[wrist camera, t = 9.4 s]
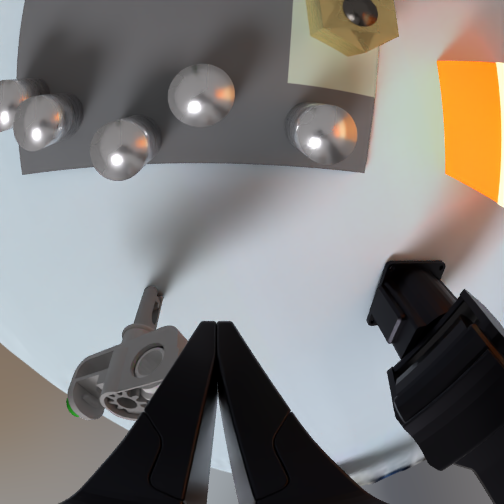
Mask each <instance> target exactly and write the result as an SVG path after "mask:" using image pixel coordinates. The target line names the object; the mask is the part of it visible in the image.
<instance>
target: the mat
mask: <svg viewBox="0 0 504 504" xmlns="http://www.w3.org/2000/svg"><path fill="white" fill-rule="evenodd" d="M378 52H379V46H378V47H376V48H374V49H372V50H370V51H368V52H366V53H362V54H358V55H353V56H349V57H347V56H346V55H344V54H342V53H341V52H339V51H337V50H335V49H334V48H332V47H330V46H328V45H326V44H325V43H323V42H321V41H319V40H317V39H315V38H313V37H311V36H310V31H309V23H308V15H307V8H306V1H305V0H25V3H24V9H23V15H22V21H21V28H20V37H19V46H18V59H17V79H29V78H39V79H42V80H43V81H45V82H46V84H47V85H48V87H49V91H50V94H58V93H70V94H73V95H75V96H76V97H77V98H78V99H79V100H80V102H81V104H82V108H83V120H82V123H81V126H80V128H79V129H78V131H77V132H76V133H75V134H74V135H73V136H71V137H69V138H67V139H64V140H62V141H59V142H57V143H54V144H52V145H49V146H47V147H45V148H42V149H40V150H37V151H27V150H25V149H23V148H22V147H21V146H20V145H19V152H20V161H21V169H22V175H25V174H32V173H40V172H48V171H57V170H66V169H76V168H87V167H94V166H93V164H92V161H91V157H90V145H91V141H92V138H93V136H94V135H95V133H96V132H97V131H98V129H99V128H101V127H102V126H103V125H105V124H106V123H109V122H112V121H115V120H118V119H122V118H126V117H129V116H133V115H143V116H146V117H149V118H150V119H152V120H153V121H154V122H155V123H156V124H157V126H158V127H159V129H160V132H161V145H160V148H159V151H158V152H157V154H156V155H155V156H154V157H153V158H152V159H151V160H150V161H149V162H148V163H147V164H161V163H233V164H262V165H281V166H296V167H310V168H322V169H332V170H342V171H352V172H361V173H364V172H365V166H366V160H367V154H368V147H369V140H370V133H371V125H372V117H373V109H374V100H375V90H376V79H377V67H378ZM196 64H210V65H214V66H216V67H218V68H220V69H222V70H223V71H224V72H225V73H227V75H228V76H229V77H230V79H231V80H232V82H233V85H234V90H235V99H234V103H233V106H232V108H231V110H230V111H229V113H228V114H227V115H226V116H225V117H224V118H223V119H222V120H221V121H219V122H217V123H215V124H213V125H210V126H206V127H194V126H190V125H187V124H185V123H183V122H181V121H180V120H178V119H177V118H176V117H175V116H174V114H173V113H172V111H171V109H170V107H169V103H168V90H169V87H170V84H171V82H172V80H173V79H174V78H175V76H176V75H177V74H178V73H179V72H181V71H182V70H183V69H185V68H187V67H189V66H192V65H196ZM305 102H313V103H322V104H329V105H335V106H338V107H340V108H342V109H344V110H345V111H346V112H348V113H349V114H350V116H351V117H352V119H353V120H354V122H355V125H356V128H357V141H356V145H355V147H354V149H353V151H352V153H351V154H350V155H349V156H348V157H347V158H346V159H344V160H343V161H341V162H339V163H336V164H332V165H324V164H319V163H317V162H314V161H313V160H311V159H310V158H309V157H307V156H306V155H305V154H304V153H302V152H301V151H300V150H298V149H297V148H296V147H295V146H293V145H292V144H291V143H290V142H289V140H288V139H287V137H286V134H285V129H284V123H285V119H286V116H287V114H288V113H289V111H290V110H291V109H292V108H293V107H295V106H296V105H298V104H301V103H305Z"/></svg>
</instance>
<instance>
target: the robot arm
mask: <svg viewBox="0 0 504 504" xmlns="http://www.w3.org/2000/svg"><path fill="white" fill-rule="evenodd" d="M391 266H392V268H390V267H391ZM444 269H445V263H444V262H443V261H389V262H387V263H386V265H385V267H384V270H383V273H382V277H381V280H380V283H379V286H378V288H377V290H376V293H375V296H374V299H373V302H372V305H371V308H370V312H369V314H368V317H367V323H368V325H370V326H375V325H378V326H379V328H380V330H381V331H382V333H383V335H384V337H385V339H386V341H387V342H388V343H389V344H391V343H392V344H393V346H394V348H395V350H396V351H397V353H398V355H399V357H400V359H401V360H400V361H399V362H398V363H397V364H396V365H395V366H394V367H391V368H390V369H389V370H388V371H387V375H388V380H389V385H390V390H391V396H392V402H393V408H394V412H395V417H396V419H397V420H398V421H399V423H400V424H401V425H402V427H403V428H404V429H405V430H406V431H407V432H408V433H409V434H410V435H411V436H412V437H413V439H414V440H415V441H416V443H417V444H418V445H419V447H420V449H421V450H422V452H423V454H424V456H425V458H426V460H427V462H428V463H429V464H430V465H431V466H432V467H434V468H436V469H437V470H440V471H442V470H444V469H446V468H447V467H449V466H450V465H452V464H454V465H457V466H460V467H464V468H467V469H471V470H472V471H473V472H474V473H475V475H476V476H477V478H478V479H479V481H480V483H481V484H482V486H483V487H484V489H485V491H486V492H487V494H488V496H489V497H490V499H491V500H492V502H493V504H504V328H503V327H502V325H501V324H500V323H499V322H498V320H497V319H496V318H495V317H494V316H493V315H492V314H491V313H490V311H489V310H488V309H487V308H486V307H485V306H484V305H483V304H482V303H481V302H479V301H478V300H477V299H476V298H475V297H474V296H472V295H471V294H470V293H469V292H468V291H467V290H465V289H464V290H463V291H462V292H461V293H460V296H459V298H458V299H457V298H456V297H455V296H454V295H453V294H452V292H451V291H450V290H449V289H448V288H447V287H446V286H445V285H444V283H443V282H442V281H441V280H440V279H441V277H442V274H443V272H444ZM218 397H219V405H220V411H221V416H222V422H223V428H224V433H225V439H226V444H227V449H228V454H229V459H230V464H231V469H232V474H233V479H234V483H235V488H236V493H237V497H238V502H239V504H388V503H386V502H383V501H381V500H379V499H377V498H375V497H373V496H372V495H370V494H369V493H367V492H366V491H365V490H364V489H362V488H361V487H360V486H359V485H358V484H357V483H356V482H355V481H354V480H353V479H351V478H350V477H349V476H348V475H347V474H346V473H345V472H344V471H343V470H342V469H341V468H340V467H339V466H338V465H337V464H336V463H335V462H334V461H333V460H332V459H331V458H330V457H329V456H328V455H327V454H326V453H325V452H324V451H323V450H322V449H321V448H320V446H319V445H318V444H317V443H316V442H315V441H314V440H313V439H312V438H311V436H310V435H309V434H308V432H307V431H306V430H305V429H304V427H303V426H302V425H301V423H300V422H299V421H298V419H297V418H296V416H295V415H294V414H293V412H290V411H291V410H290V408H289V407H288V405H287V404H286V402H285V401H284V399H283V398H282V397H281V395H280V394H279V392H278V391H277V389H276V388H275V386H274V385H273V383H272V382H271V380H270V379H269V377H268V376H267V374H266V373H265V371H264V370H263V368H262V367H261V365H260V364H259V362H258V361H257V359H256V358H255V356H254V355H253V353H252V352H251V350H250V349H249V347H248V346H247V344H246V342H245V341H244V339H243V338H242V336H241V335H240V333H239V332H238V330H237V328H236V327H235V325H234V324H233V322H231V321H218V322H217V324H216V322H215V321H202V322H201V323H200V324H199V325H198V327H197V328H196V330H195V331H194V333H193V335H192V336H191V338H190V339H189V341H188V342H187V344H186V345H185V347H184V348H183V350H182V351H181V353H180V354H179V356H178V358H177V359H176V361H175V362H174V364H173V365H172V367H171V368H170V370H169V371H168V373H167V374H166V376H165V377H164V379H163V381H162V382H161V384H160V385H159V387H158V388H157V390H156V391H155V393H154V394H153V396H152V397H151V399H150V401H149V402H148V404H147V405H146V407H145V408H144V412H142V413H141V414H140V416H139V417H138V419H137V420H136V422H135V423H134V425H133V426H132V428H131V429H130V431H129V432H128V433H127V435H126V436H125V438H124V439H123V440H122V441H121V443H120V444H119V445H118V446H117V448H116V449H115V450H114V451H113V452H112V454H111V455H110V456H109V457H108V458H107V459H106V461H105V462H104V463H103V464H102V465H101V466H100V467H99V468H98V470H97V471H96V472H95V473H94V474H93V475H92V476H91V477H90V479H89V480H88V481H87V482H86V483H85V484H84V485H83V486H82V488H80V489H79V490H78V491H77V492H76V493H75V494H74V495H72V496H71V497H70V498H68V499H66V500H65V501H63V502H61V503H59V504H207V493H208V484H209V474H210V464H211V455H212V445H213V436H214V427H215V418H216V409H217V399H218Z"/></svg>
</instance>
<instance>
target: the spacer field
mask: <svg viewBox="0 0 504 504" xmlns="http://www.w3.org/2000/svg"><path fill="white" fill-rule="evenodd" d="M234 99H235V90H234V85H233V82H232V80H231V79H230V77H229V76H228V75H227V73H225V72H224V71H223V70H222V69H220V68H218V67H216V66H214V65H210V64H196V65H192V66H189V67H187V68H185V69H183V70H182V71H181V72H179V73H178V74H177V75H176V76H175V78H174V79H173V80H172V82H171V84H170V87H169V90H168V103H169V107H170V109H171V111H172V113H173V114H174V116H175V117H176V118H177V119H178V120H180V121H181V122H183V123H185V124H187V125H190V126H194V127H206V126H210V125H213V124H215V123H217V122H219V121H221V120H222V119H223V118H224V117H225V116H226V115H227V114H228V113H229V111H230V110H231V108H232V106H233V103H234ZM82 120H83V108H82V104H81V102H80V100H79V99H78V98H77V97H76V96H75V95H73V94H70V93H58V94H50V91H49V87H48V85H47V84H46V82H45V81H43V80H42V79H39V78H29V79H12V80H2V81H0V132H2V131H5V130H8V129H11V128H13V130H14V135H15V138H16V140H17V142H18V144H19V145H20V146H21V147H22V148H23V149H25V150H27V151H37V150H40V149H42V148H45V147H47V146H49V145H52V144H54V143H57V142H59V141H62V140H64V139H67V138H69V137H71V136H73V135H74V134H75V133H76V132H77V131H78V129H79V128H80V126H81V123H82ZM284 129H285V134H286V137H287V139H288V140H289V142H290V143H291V144H292V145H293V146H295V147H296V148H297V149H298V150H300V151H301V152H302V153H304V154H305V155H306V156H307V157H309V158H310V159H311V160H313V161H314V162H317V163H319V164H324V165H332V164H336V163H339V162H341V161H343V160H344V159H346V158H347V157H348V156H349V155H350V154H351V153H352V151H353V149H354V147H355V145H356V141H357V128H356V125H355V122H354V120H353V119H352V117H351V116H350V114H349V113H348V112H346V111H345V110H344V109H342V108H340V107H338V106H335V105H329V104H322V103H313V102H305V103H301V104H298V105H296V106H295V107H293V108H292V109H291V110H290V111H289V113H288V114H287V116H286V119H285V123H284ZM160 145H161V132H160V129H159V127H158V126H157V124H156V123H155V122H154V121H153V120H152V119H150V118H149V117H146V116H143V115H133V116H129V117H126V118H122V119H118V120H115V121H112V122H109V123H106V124H105V125H103V126H102V127H101V128H99V129H98V131H97V132H96V133H95V135H94V136H93V138H92V141H91V145H90V157H91V161H92V164H93V166H94V167H95V169H96V170H97V171H98V172H99V174H101V175H102V176H103V177H105V178H107V179H110V180H114V181H122V180H126V179H129V178H131V177H133V176H134V175H135V174H137V173H138V172H139V171H140V170H141V169H142V168H143V167H144V166H145V165H146V164H147V163H148V162H149V161H150V160H151V159H152V158H153V157H154V156H155V155H156V154H157V152H158V151H159V148H160Z"/></svg>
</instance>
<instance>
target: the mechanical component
mask: <svg viewBox="0 0 504 504" xmlns="http://www.w3.org/2000/svg"><path fill="white" fill-rule="evenodd" d="M157 293H158V291H157V289H156V288H155V287H147V288H146V289H145V290H144V293H143V296H142V299H141V302H140V305H139V308H138V311H137V314H136V317H135V321H134V324H131V325H128V326H127V327H125V329H124V330H123V332H122V338H123V340H122V343H121V344H119V345H116V346H114V347H111V348H109V349H106V350H104V351H101V352H98V353H96V354H93V355H91V356H88V357H87V358H85V359H84V360H83V361H82V362H81V363H80V364H79V366H78V367H77V369H76V370H75V373H74V375H73V378H72V381H71V383H70V386H69V389H68V398H67V401H66V403H67V408H68V410H69V411H70V413H71V414H72V415H74V416H76V417H81V418H83V419H85V420H93V419H98V418H100V417H101V416H102V414H103V412H104V408H106V409H107V410H109V411H110V412H111V413H113V414H114V415H116V416H118V417H120V418H123V419H127V420H133V421H136V420H137V419H138V417H139V416H140V414H141V413H142V412H144V408H145V407H146V405H147V404H148V402H149V401H150V399H151V397H152V396H153V394H154V393H155V391H156V390H157V388H158V387H159V385H160V384H161V382H162V381H163V379H164V377H165V376H166V374H167V373H168V371H169V370H170V368H171V367H172V365H173V364H174V362H175V361H176V359H177V358H178V356H179V354H180V353H181V351H182V350H183V348H184V347H185V345H186V344H187V342H188V341H187V339H186V338H185V337H184V336H183V335H182V334H181V333H180V332H179V331H178V329H177V328H176V327H174V326H164V327H161V328H159V329H157V330H156V327H157V323H158V318H159V314H160V309H161V305H162V301H163V296H159V297H157Z"/></svg>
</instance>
